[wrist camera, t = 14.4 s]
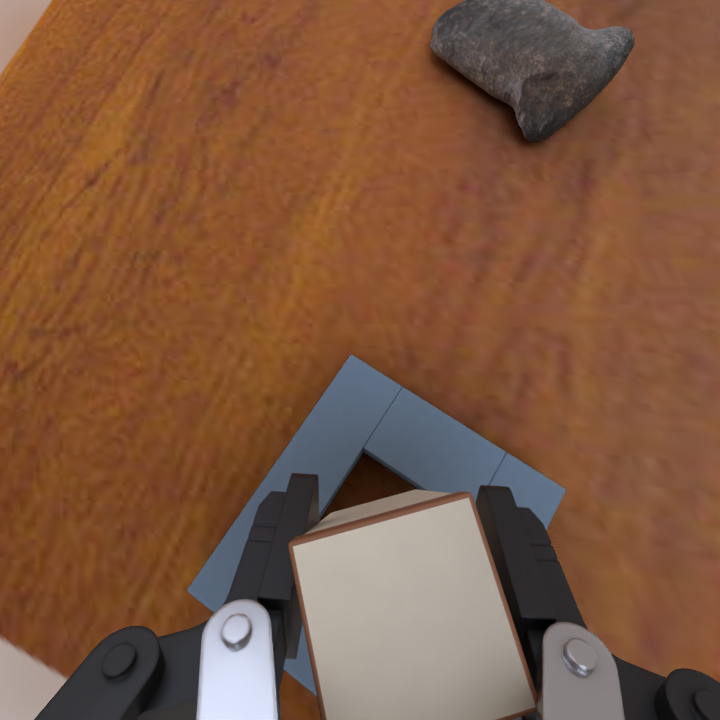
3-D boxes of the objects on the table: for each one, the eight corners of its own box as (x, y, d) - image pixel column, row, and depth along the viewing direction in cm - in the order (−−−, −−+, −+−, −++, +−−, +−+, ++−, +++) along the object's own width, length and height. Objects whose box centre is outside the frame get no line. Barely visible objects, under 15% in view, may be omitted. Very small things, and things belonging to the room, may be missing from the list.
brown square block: (351, 614, 15) (332, 778, 7) (328, 512, 16) (286, 542, 8) (445, 586, 16) (544, 712, 7) (417, 487, 17) (472, 490, 8)
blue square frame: (413, 736, 19) (421, 782, 16) (210, 576, 21) (185, 590, 18) (540, 488, 22) (567, 489, 19) (352, 369, 24) (350, 353, 21)
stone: (512, 44, 35) (413, 86, 33) (527, -39, 30) (414, 4, 28) (633, 103, 29) (522, 159, 27) (674, 11, 24) (545, 70, 22)
